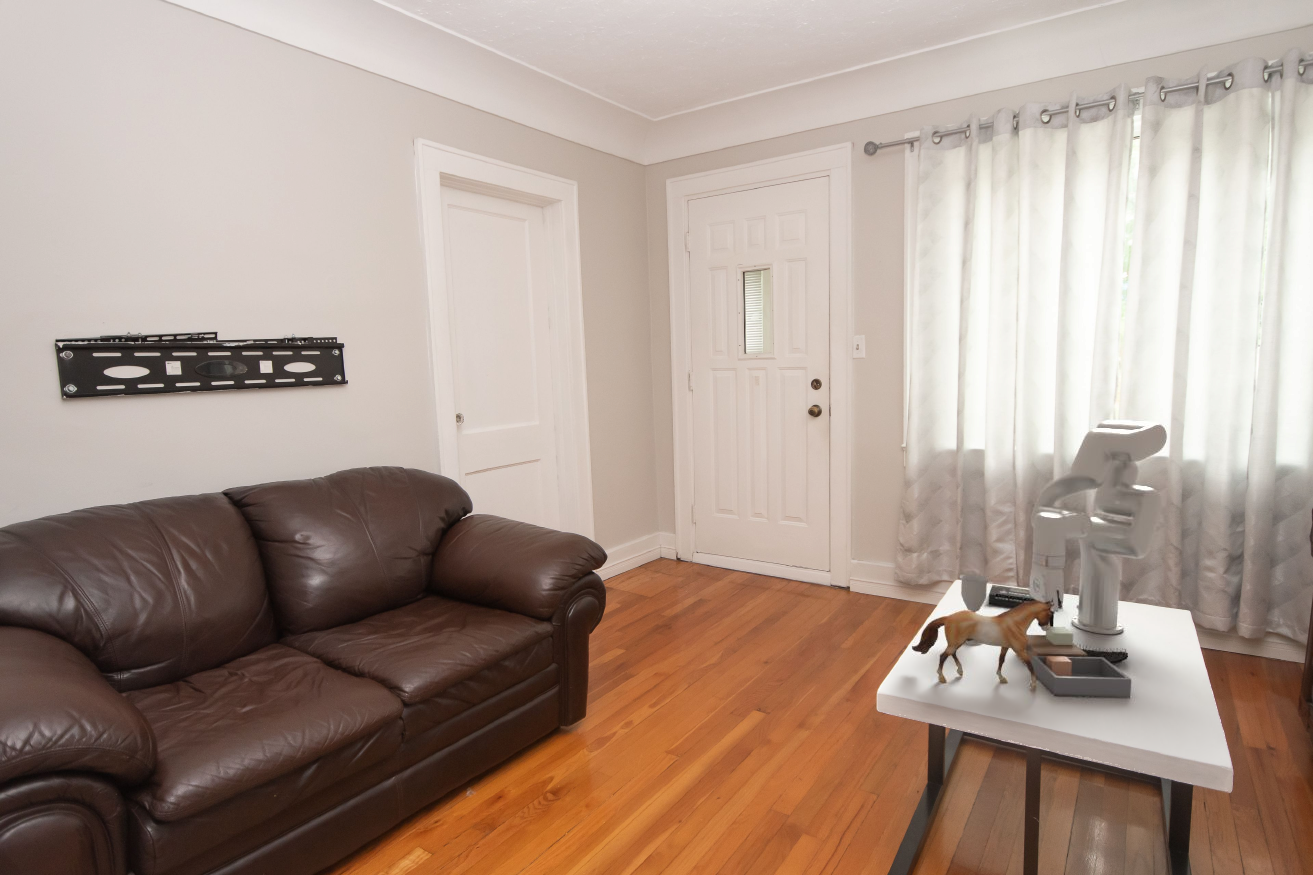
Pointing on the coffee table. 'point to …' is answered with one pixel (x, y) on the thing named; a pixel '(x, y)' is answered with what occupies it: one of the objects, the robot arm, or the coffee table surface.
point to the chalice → (973, 594)
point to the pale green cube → (1059, 636)
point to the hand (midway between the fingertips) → (1045, 626)
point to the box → (1084, 678)
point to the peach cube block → (1059, 665)
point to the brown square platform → (1050, 648)
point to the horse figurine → (987, 634)
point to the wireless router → (1009, 596)
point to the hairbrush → (1107, 655)
